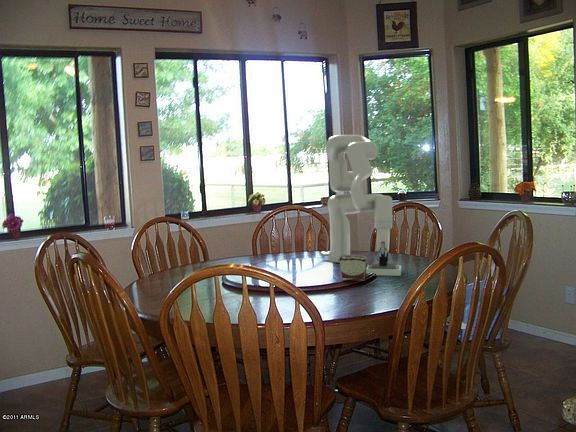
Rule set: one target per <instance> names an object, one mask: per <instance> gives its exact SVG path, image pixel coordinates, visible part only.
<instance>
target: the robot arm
mask: <svg viewBox="0 0 576 432" xmlns="http://www.w3.org/2000/svg"><path fill="white" fill-rule="evenodd" d="M378 151H379V150H378V147H377V145H376V144H375V142H374V141H372V140H371V139H369V138H367V137H365V136H364V135H361V134H337V135H333V136H330V137H329V138H328V140H327V141H326V145H325V153H326V156H327V160H328V167H329V168H328V170H329V171H328V173H329V176H328V177H329V188H330V189H331V191H332V192H336V193H340V192H341V193H342V192H343V193H344V192H349V194H346V193H345V194H335V195H332V196H330V197H329V198H328V200H327V209H328V215H329V216H328V217H329V235H330V236H329V238H330V239H329V242H330V245H329V246H330V247H329V248H330V250H329V251H321V252H320V253H321V255H320V256H321V257H327V261H328V262H330V263H340V261H338V259H339V256H343V255H351V225H350V221H349V219H348V217H347V215H351V214H354V215H355V214H359V213H368V212H374V229H376V252H379V256H378V257H379V259H378V260H379V261H378V262H379V266H387V262H389V249H390V238H391V237H390V230H391V229H392V228H393V197H392V196H390V195H383V194H381V193H371V194H370V193H369V194H364V187H363V184H364V182H363V181H365V180H366V179H368V178H370V177H371V176H372V175H373V168H372V164H371V162H370V161H372V160H375V159H377V157H378ZM343 154H347V158H348V162H349V164H350V167H351V170H350V171H349V170H348V162H347V159H346V158H345V155H343Z"/></svg>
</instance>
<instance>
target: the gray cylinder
mask: <svg viewBox="0 0 576 432" xmlns="http://www.w3.org/2000/svg"><path fill="white" fill-rule="evenodd" d="M371 265H372V269H397V264H396V262H395V261H394V262H393V261H388V262H387V266H379V261H372V262H371Z"/></svg>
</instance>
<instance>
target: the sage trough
mask: <svg viewBox="0 0 576 432" xmlns="http://www.w3.org/2000/svg"><path fill="white" fill-rule="evenodd" d="M396 265H397V264H396ZM366 273H375V274H376V275H375V276H395V277H396V276H398V277H399V276H402V264H401V265H399V264H398V265H397V269H372V264H366V269H365V274H366Z"/></svg>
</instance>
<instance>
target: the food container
mask: <svg viewBox="0 0 576 432" xmlns="http://www.w3.org/2000/svg"><path fill="white" fill-rule="evenodd" d="M338 261H340V262H339V268H340V276H341V279H342V278H361V279H365V278H366V268H367V263H369V262H368V261H369V260H368V258H367V256H366V255H363V254H362V255H361V254H350V255H343V256H339V259H338Z"/></svg>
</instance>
